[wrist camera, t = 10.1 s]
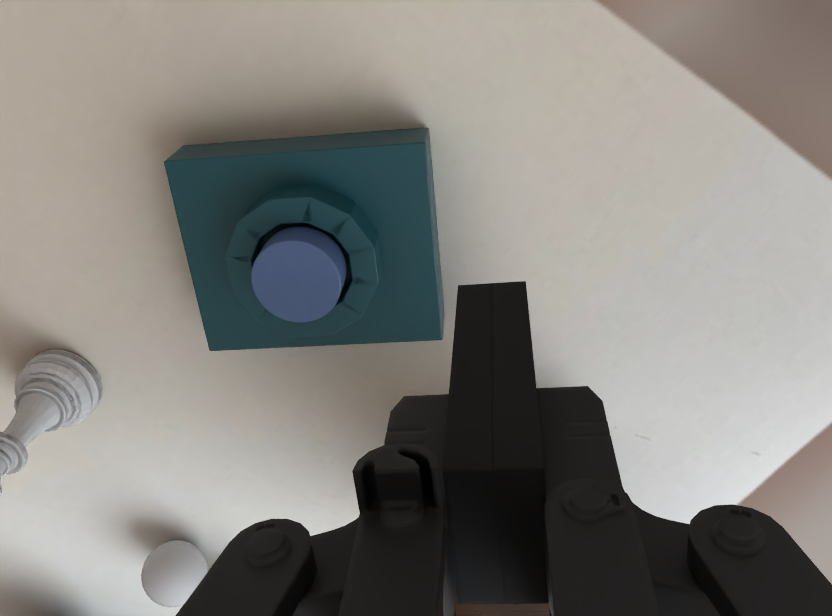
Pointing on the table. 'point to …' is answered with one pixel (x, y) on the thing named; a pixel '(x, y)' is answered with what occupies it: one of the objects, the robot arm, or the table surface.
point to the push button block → (322, 210)
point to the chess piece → (47, 402)
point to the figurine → (173, 572)
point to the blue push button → (299, 274)
